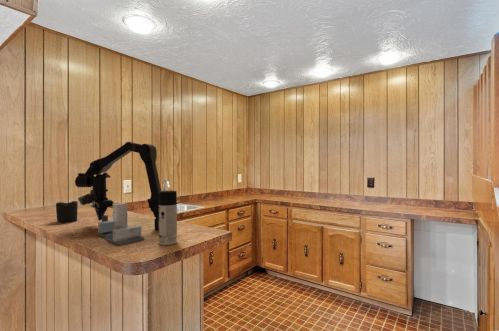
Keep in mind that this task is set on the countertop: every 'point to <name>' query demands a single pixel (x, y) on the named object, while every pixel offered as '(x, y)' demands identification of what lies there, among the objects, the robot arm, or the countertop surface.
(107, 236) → the vise base
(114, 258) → the countertop surface
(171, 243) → the spray can
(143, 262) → the countertop surface
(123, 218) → the steel block
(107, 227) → the sliding jaw
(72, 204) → the pen holder
